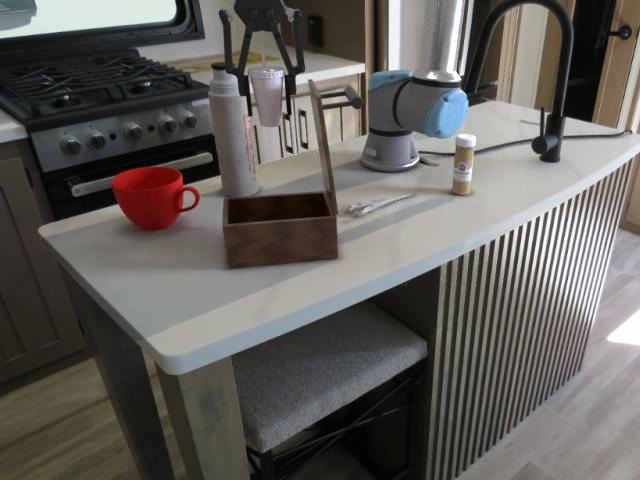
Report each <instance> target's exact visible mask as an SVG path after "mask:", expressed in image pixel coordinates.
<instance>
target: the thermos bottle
mask: <svg viewBox="0 0 640 480" xmlns="http://www.w3.org/2000/svg"><path fill="white" fill-rule="evenodd" d="M233 66H235V67H237V66H236V63H235V62H233ZM210 68H211V69H212V78H211V79H210V80H209V85H208V86H209V88H210V90H209V91H208V92H207V95H208V103H209V109H210V116H211V122H212V129H213V134H214V135H213V136H214V141H215V148H216V153H217V159H218V168H219V174H220V175H219V176H220V180H221V188H222V193H223V195H225V196H227V197H243V196H254V195H255V194H256V193H258V191H259V185H258V175H257V167H256V160H255V159H256V158H255V151H254V142H253V134H252V126H251V117H248V110H247V101H246V96H240V94H239V89H238V81H237V77H236V76H234V75H232V74H227V73H226V71H225V61H217V62H213V63H211V64H210Z"/></svg>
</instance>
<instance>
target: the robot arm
mask: <svg viewBox="0 0 640 480" xmlns="http://www.w3.org/2000/svg"><path fill="white" fill-rule="evenodd" d="M465 7H466V0H425V6H424V16H423V26H422V35H421V43H420V54H419V64H418V67H417V68H416V69H415V70H412V69H392V70H384V71H383V70H381V71H377V72H374V73H372V74H371V75H370V76H369V78H368V89H367V107H368V108H367V115H368V117H367V118H368V135H367V137H366V141H365V143H364V147H363V150H362V153H361V163H362V166H364V167H366V168H368V169H370V170H373V171H376V172H383V173H400V172H407V171H411V170H413V169H416V168H417V167H419V164H420V155H432V156H433V155H435V156H445V157H447V156H448V157H449V156H450V157H451V156H454V157H455V152H439V151H429V150H418V146H417V143H416V139H415V135H414V132H415V133H418V134H422V135H425V136H426V137H428V138H434V139H439V140H446V139H448V138H451V137H452V136H453V135H455V134H456V133H457V132H458V131H459V129H460V128H461V127H462V125H463V124H464V122H465V120H466V117H467V114H468V111H469V99H468V96H467V93H465V91H464V90H463V89H461V85H462V78H461V76H460V74H459V73H458V71H457V67H458V61H459V60H458V59H459V51H460V43H461V37H462V29H463V22H464V21H463V20H464V15H465ZM234 15H237V17H238V18H239V20H241V22H242V23H243V25H245V26H244V32H243V38H242V42H241V46H240V47H241V48H240V53H239V57H238V62H237V66H236V65H235V66H236V67H235V66H233V63H234V62H233V43H232V24H231V23H233V22H234ZM285 15H286V16H287V20H288V22H289V23H291V31H292V37H293V43H294V45H293V46H294V50H295V59H296V64H295V65H293V63H292V60H291V58H290V57H291V56H290V55H289V52H288V49H287V47H286V44H285V43H284V42H285V41H284V39H283V36H282V34H281V32H280V29H279V24H280V23H281V21H282V19H283V18H284V17H285ZM302 16H303V13H302V11H301V10H300V9H299V8H295V9H294V8H291V7H287V6H286V4H285V2H284V0H234V3H233V6H230V7H226V8H222V7H221V8H219V10H218V17H219V20H220V22H221V25H222V31H223V33H222V34H223V35H222V36H223V52H224V54H223V55H224V62H225V71H226V73H227V74H232V75H234V76H236V77H237V81H238V89H239V94H240V96H246V101H247V110H248V117H250V118H251V117H253V106H252V97H251V87H250V76H249V75H248V74H245V71H246V68H247V67H246V66H247V62H248V56H249V52H250V47H251V43H252V37H253V34H254V33H258V32H262V31H263V32H267V33H272V35H273V39H274V41H275V43H276V46H277V48H278V51H279V53H280V56H281V59H282V61H283V64H284V66H285V69H286V71H287V74H285V75H284V76H283V83H284V94H285V107H286V113H287V114H286V115H287V116H292V115H293V113H292V110H293V109H292V100H291V99H292V97H291V96H296V95H297V78H296V77H297V76H298V75H300V74H304V73H305V72H306V64H305V56H304V48H303V42H302V40H303V39H302V34H301V22H302V18H303V17H302ZM624 132H626V133H629V134H634V132H633V131H632V129H630V128H627V129H625V130H623V131H622V132H620V133H613V134H612V133H611V134H574V135H573V134H572V135H570V134H569V135H562V136H563V138H562V139H577V138H578V139H581V138H614V137H615V138H617V137H621V136H623V135H625V134H626V133H624ZM534 138H535V137H534ZM534 138H527V139H520V140H514V141H510V142H505V143H499V144H496V145H492V146H488V147H484V148H481V149H477V150H474V155H475V154H480V153H483V152H488V151H490V150H495V149H499V148H503V147H508V146H513V145H517V144H523V143H529V142H533V141H532V140H533V139H534Z"/></svg>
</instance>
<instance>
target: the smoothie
mask: <svg viewBox="0 0 640 480" xmlns="http://www.w3.org/2000/svg"><path fill="white" fill-rule="evenodd" d="M259 43H260V50H261V51H260V53H261V64H262V65H254V66H250V67H248V68H247V75H248V77H249V79H250V82H251V87H252V92H253V95H254V102H255V105H256V110H257V114H258V119H259V124H260V126H261V127H264V128H276V127H277V128H278V127H280V126H281V125H282V116H283V115H282V114H283V88H284V75H286V73H285V68H284V67H282V66H279V65H270V64H269V65H267V64H266V52H265V42H264V40H260V42H259Z"/></svg>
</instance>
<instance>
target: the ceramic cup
mask: <svg viewBox="0 0 640 480" xmlns="http://www.w3.org/2000/svg"><path fill="white" fill-rule="evenodd" d="M110 185H111V189H112V191H113V194H114V198H115V200H116V202H117V205H118V206H119V209H120V211H121V212H122V213H123V214H124V216H125V217H126V218H127V219H128V220H129V221H130V222H132V223H133V224H134V225H136V226H137V227H139V228H140V229H141V230H143V231H147V232H156V231H162V230H166V229H169V228H170V227H173V225H174V224H175V222H176V221H177V219H178V218H179V216H180V214H183V213H186V212H190V211H192V210H194V209H195V208H196V207H197V206H198V205H199V202H200V200H201V194H200V192H199V191H198V189H197V188H196V187H193V186H189V185H188V186H184V181H183V175H182V173H181V171H179V170H178V169H176V168H172V167H169V166H143V167H137V168H136V167H135V168H132V169H129V170H125V171H123V172H122V171H121V172H120V173H117V174H116V175H115V176H113V178H112V179H111V181H110ZM186 191H187V192H191V193H192V194H193V195H194V202H193V204H191V205H190V206H187V207H184V202H185V201H184V199H185V197H184V196H185V192H186Z"/></svg>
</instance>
